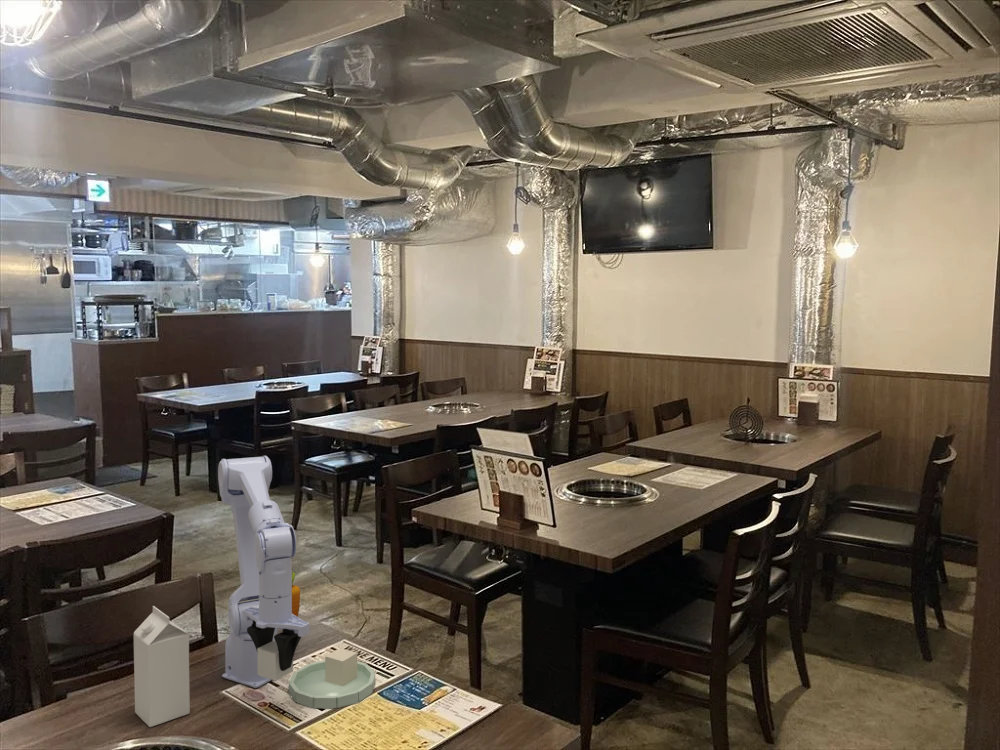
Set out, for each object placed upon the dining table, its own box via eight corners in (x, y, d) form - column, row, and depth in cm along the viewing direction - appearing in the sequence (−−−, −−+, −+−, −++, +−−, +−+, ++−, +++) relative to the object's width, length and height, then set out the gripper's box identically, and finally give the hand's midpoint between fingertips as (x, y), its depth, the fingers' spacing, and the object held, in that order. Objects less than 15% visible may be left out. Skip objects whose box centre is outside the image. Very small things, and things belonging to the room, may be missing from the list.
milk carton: (174, 699, 147) (172, 601, 145) (190, 714, 142) (188, 612, 140) (134, 713, 142) (132, 611, 140) (149, 728, 137) (147, 622, 135)
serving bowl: (272, 694, 149) (272, 684, 149) (327, 662, 163) (327, 652, 163) (338, 716, 142) (338, 705, 142) (390, 680, 156) (390, 670, 156)
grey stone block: (257, 675, 142) (257, 648, 142) (275, 665, 146) (275, 639, 146) (275, 680, 140) (275, 654, 140) (292, 671, 144) (292, 645, 144)
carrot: (294, 641, 173) (294, 575, 172) (273, 639, 174) (273, 573, 173) (304, 632, 178) (304, 567, 177) (284, 630, 179) (284, 566, 178)
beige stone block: (325, 680, 154) (325, 656, 154) (339, 671, 158) (339, 647, 157) (342, 686, 152) (343, 661, 152) (357, 677, 156) (357, 652, 155)
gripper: (229, 592, 142) (230, 664, 143) (289, 608, 135) (289, 683, 136) (258, 580, 148) (258, 650, 149) (317, 595, 141) (317, 668, 142)
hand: (275, 665), depth 143 cm, fingers closed on grey stone block, 4 cm apart
